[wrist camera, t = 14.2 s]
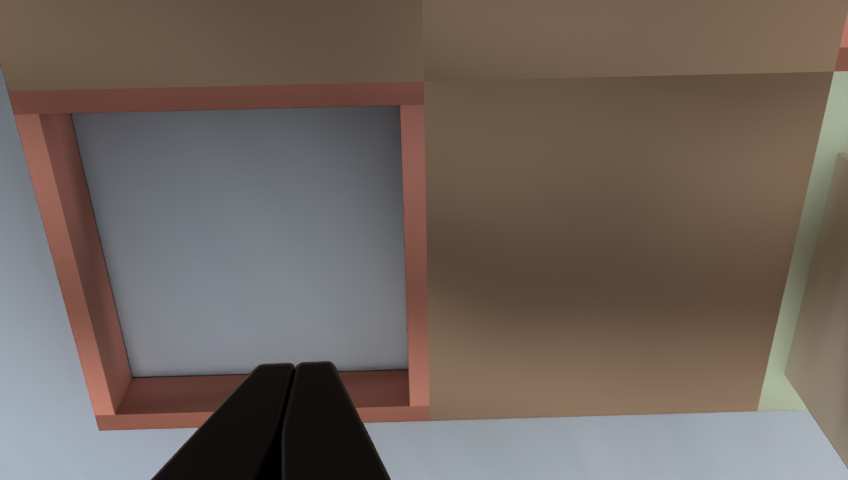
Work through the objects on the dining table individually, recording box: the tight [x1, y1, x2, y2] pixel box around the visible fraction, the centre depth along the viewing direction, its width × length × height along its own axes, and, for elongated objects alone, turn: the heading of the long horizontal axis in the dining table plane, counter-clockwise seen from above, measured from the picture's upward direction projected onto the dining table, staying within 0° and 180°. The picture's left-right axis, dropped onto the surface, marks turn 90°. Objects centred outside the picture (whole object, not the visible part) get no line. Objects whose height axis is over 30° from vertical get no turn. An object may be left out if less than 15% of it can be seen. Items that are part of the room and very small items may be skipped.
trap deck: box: [0, 0, 848, 431], centre depth 17 cm, size 18×26×2 cm
